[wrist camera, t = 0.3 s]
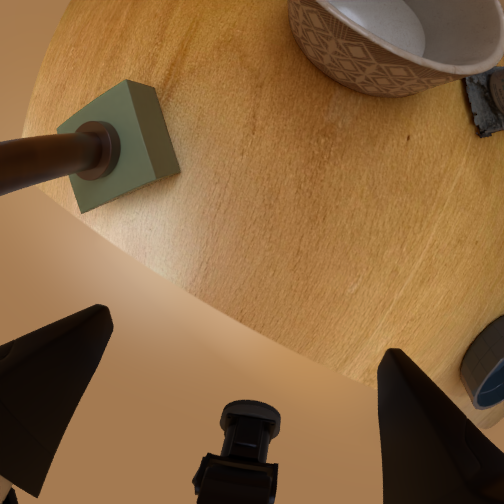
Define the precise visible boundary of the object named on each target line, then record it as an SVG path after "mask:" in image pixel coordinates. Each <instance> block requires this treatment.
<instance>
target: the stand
mask: <svg viewBox="0 0 504 504" xmlns="http://www.w3.org/2000/svg"><path fill="white" fill-rule="evenodd" d="M88 121H105V122H108V123H110V124H111V125H112V126H113V127H114V128H115V129H116V131H117V133H118V135H119V138H120V144H121V151H120V157H119V160H118V163H117V165H116V167H115V168H114V170H113V171H112V172H111V173H110V174H109V175H107V176H105V177H103V178H99V179H96V180H91V181H88V180H83V179H81V178H80V177H78V176H77V175H76V173H75V174H71V175H69V178H70V182H71V185H72V188H73V191H74V194H75V197H76V200H77V203H78V206H79V208H80V211H81V214H83V213H85V212H88V211H90V210H92V209H95V208H97V207H99V206H102V205H104V204H106V203H109V202H111V201H113V200H116V199H118V198H120V197H122V196H124V195H127V194H129V193H131V192H133V191H136V190H138V189H140V188H143V187H145V186H147V185H150V184H152V183H155V182H157V181H159V180H162V179H164V178H167V177H169V176H172V175H175V174H177V173H180V172H181V171H180V168H179V165H178V162H177V159H176V156H175V153H174V150H173V146H172V143H171V140H170V137H169V134H168V131H167V128H166V125H165V121H164V118H163V115H162V112H161V108H160V105H159V102H158V99H157V95H156V92H155V88H154V87H151V86H147V85H144V84H141V83H137V82H134V81H130V80H127V79H126V80H124V81H122V82H121V83H119V84H117V85H116V86H114V87H113V88H111V89H110V90H108V91H107V92H105V93H103V94H102V95H100V96H99V97H98V98H96V99H95V100H93V101H92V102H90V103H89V104H88V105H86V106H85V107H83V108H82V109H81V110H79V111H78V112H77V113H75V114H74V115H73V116H71V117H70V118H69V119H68V120H66V121H65V122H64V123H63V124H61V125H60V126H59V127H58V128H57V134H64V133H75V131H76V130H77V128H78V127H79V126H81V125H82V124H84V123H85V122H88Z"/></svg>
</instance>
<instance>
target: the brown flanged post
mask: <svg viewBox="0 0 504 504" xmlns="http://www.w3.org/2000/svg"><path fill="white" fill-rule="evenodd" d="M120 151H121V144H120V138H119V135H118V133H117V131H116V129H115V128H114V127H113V126H112V125H111V124H110V123H108V122H105V121H88V122H85V123H84V124H82V125H81V126H79V127H78V128H77V130H76V131H75V133H64V134H53V135H44V136H35V137H28V138H21V139H15V140H9V141H3V142H0V196H2V195H5V194H8V193H10V192H13V191H16V190H19V189H22V188H25V187H29V186H31V185H35V184H38V183H42V182H45V181H49V180H52V179H56V178H59V177H63V176H67V175H71V174H75V173H76V175H77V176H78V177H80V178H81V179H83V180H88V181H91V180H96V179H99V178H103V177H105V176H107V175H109V174H110V173H111V172H112V171H113V170H114V168H115V167H116V165H117V163H118V160H119V157H120Z"/></svg>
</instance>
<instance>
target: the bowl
mask: <svg viewBox="0 0 504 504" xmlns="http://www.w3.org/2000/svg"><path fill="white" fill-rule="evenodd" d="M461 380H462V383H463V385H464V387H465V389H466V391H467V393H468V395H469V397H470V400H471V402H472V404H473V406H474V407H475V409H479V410H484V409H488V408H491V407H493V406H495V405H497V404H499V403H501V402H502V401H504V316H502V317H500V318H498V319H497V320H495V321H494V322H493V323H491V324H490V325H489V326H488V327H487V328H486V329H485V330H484V331H483V332H482V333H481V334H480V335H479V336H478V337H477V338H476V340H475V341H474V342H473V344H472V345H471V346H470V348H469V350H468V351H467V353H466V355H465V357H464V359H463V362H462V366H461Z"/></svg>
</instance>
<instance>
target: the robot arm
mask: <svg viewBox="0 0 504 504" xmlns="http://www.w3.org/2000/svg"><path fill="white" fill-rule="evenodd" d="M112 332H113V322H112V318H111V315H110V311H109V308H108V307H107V306H104V305H101V304H95V305H93V306H91V307H88V308H86V309H84V310H81V311H79V312H77V313H74V314H72V315H70V316H67V317H65V318H63V319H60V320H58V321H56V322H54V323H51V324H49V325H47V326H44V327H42V328H40V329H38V330H35V331H33V332H31V333H28V334H26V335H24V336H22V337H19V338H17V339H16V340H12V341H10V342H8V343H6V344H4V345H1V346H0V504H18V501H17V497H16V494H15V490H14V489H13V488H12V487H11V486H12V485H13V484H14V485H16V486H17V487H19V488H21V489H22V490H24V491H25V492H27V493H29V494H31V495H32V496H34V497H36V498H38V496H39V494H40V491H41V489H42V486H43V483H44V481H45V478H46V475H47V473H48V470H49V468H50V465H51V463H52V460H53V458H54V455H55V453H56V451H57V448H58V446H59V444H60V441H61V439H62V437H63V435H64V433H65V430H66V428H67V426H68V424H69V422H70V420H71V418H72V416H73V414H74V411H75V409H76V407H77V405H78V403H79V401H80V399H81V397H82V395H83V393H84V392H85V390H86V388H87V386H88V384H89V382H90V380H91V378H92V376H93V374H94V373H95V371H96V368H97V367H98V364H99V362H100V360H101V358H102V355H103V353H104V350H105V348H106V346H107V343H108V341H109V339H110V337H111V334H112ZM377 380H378V419H379V428H380V440H381V453H382V471H383V504H504V453H503V452H502V451H501V450H500V449H498V448H497V447H496V446H495V445H494V444H493V443H492V442H491V441H490V440H489V439H488V438H487V437H485V435H483V434H482V432H481V431H480V430H479V429H478V428H477V427H476V426H475V425H474V424H473V423H472V422H471V421H470V420H469V419H468V418H467V417H466V415H465V414H464V413H463V412H462V411H461V410H460V409H459V408H458V407H457V406H456V405H455V404H454V403H453V402H452V401H451V400H450V399H449V397H448V396H447V395H446V394H445V393H444V392H443V391H442V390H441V389H440V388H439V387H438V386H437V385H436V384H435V383H434V382H433V381H432V380H431V379H430V378H429V377H428V376H427V375H426V374H425V373H424V372H423V371H422V370H421V369H420V368H419V367H418V366H417V365H416V364H415V363H414V362H413V361H412V360H411V359H410V358H409V357H408V356H407V355H406V354H405V353H404V352H403V351H402V350H401V349H399V348H389V349H387V351H386V352H385V354H384V356H383V358H382V360H381V362H380V364H379V366H378V370H377ZM276 424H277V421H275V420H270V419H263V418H256V417H250V416H244V415H239V414H233V413H226V416H225V432H224V435H225V440H224V443H223V447H222V451H221V455H220V456H218V455H214V454H211V453H207V455H206V456H205V457H203V458H202V461H201V464H200V467H199V469H198V471H197V473H196V474H195V476H194V478H193V480H192V483H193V484H194V486H195V495H198V499H197V504H274V501H275V496H276V490H277V475H278V464H277V463H274V464H270V463H266V459H267V452H268V445H269V444H270V441H271V439H272V436H273V433H274V430H275V427H276Z"/></svg>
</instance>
